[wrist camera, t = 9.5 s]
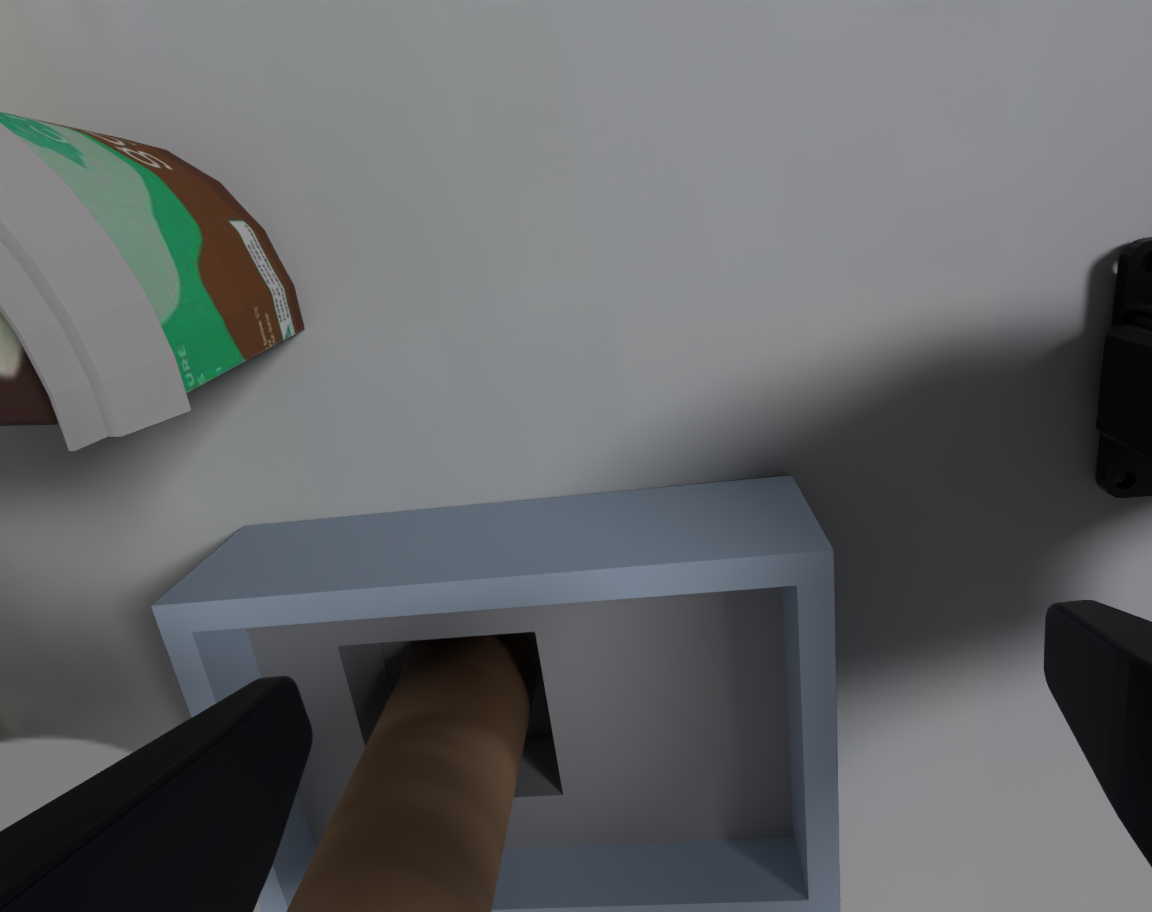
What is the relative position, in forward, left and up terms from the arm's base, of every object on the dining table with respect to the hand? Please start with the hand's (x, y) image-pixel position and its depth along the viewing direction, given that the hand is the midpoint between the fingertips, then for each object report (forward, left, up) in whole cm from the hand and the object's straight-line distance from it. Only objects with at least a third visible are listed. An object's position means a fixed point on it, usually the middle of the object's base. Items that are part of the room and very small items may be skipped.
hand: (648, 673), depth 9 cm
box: (+4, +8, -12) cm, 15 cm away
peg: (+6, +8, -12) cm, 15 cm away
